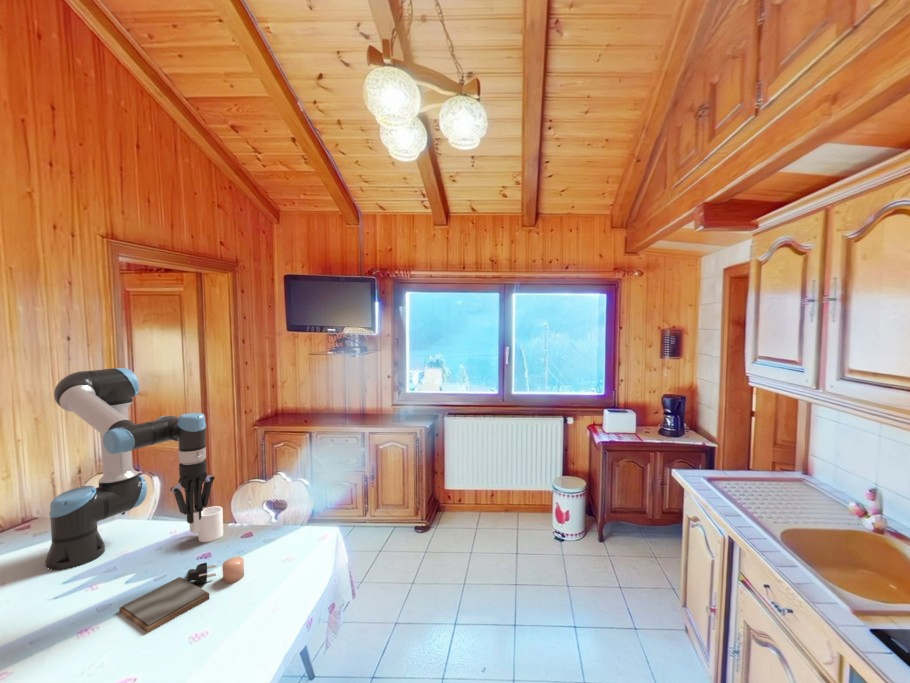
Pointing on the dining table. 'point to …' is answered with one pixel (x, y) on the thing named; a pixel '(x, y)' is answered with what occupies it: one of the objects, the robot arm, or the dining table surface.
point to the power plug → (200, 573)
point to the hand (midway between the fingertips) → (194, 530)
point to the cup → (211, 524)
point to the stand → (164, 604)
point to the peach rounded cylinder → (233, 569)
